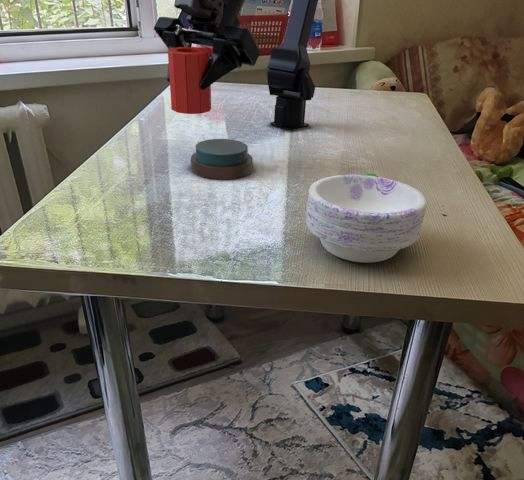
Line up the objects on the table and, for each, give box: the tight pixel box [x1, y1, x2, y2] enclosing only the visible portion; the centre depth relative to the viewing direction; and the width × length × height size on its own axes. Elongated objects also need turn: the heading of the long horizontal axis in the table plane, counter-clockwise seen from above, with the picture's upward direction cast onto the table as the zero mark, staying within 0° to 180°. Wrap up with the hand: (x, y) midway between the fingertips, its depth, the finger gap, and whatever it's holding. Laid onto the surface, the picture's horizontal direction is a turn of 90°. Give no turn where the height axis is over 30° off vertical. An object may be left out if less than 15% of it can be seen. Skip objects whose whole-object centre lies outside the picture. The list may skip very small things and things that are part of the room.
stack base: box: [190, 138, 254, 181], centre depth 97 cm, size 11×11×4 cm
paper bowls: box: [305, 174, 428, 264], centre depth 73 cm, size 15×15×8 cm
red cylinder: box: [167, 46, 212, 115], centre depth 92 cm, size 7×7×9 cm
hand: (184, 84), depth 91 cm, fingers closed on red cylinder, 7 cm apart
